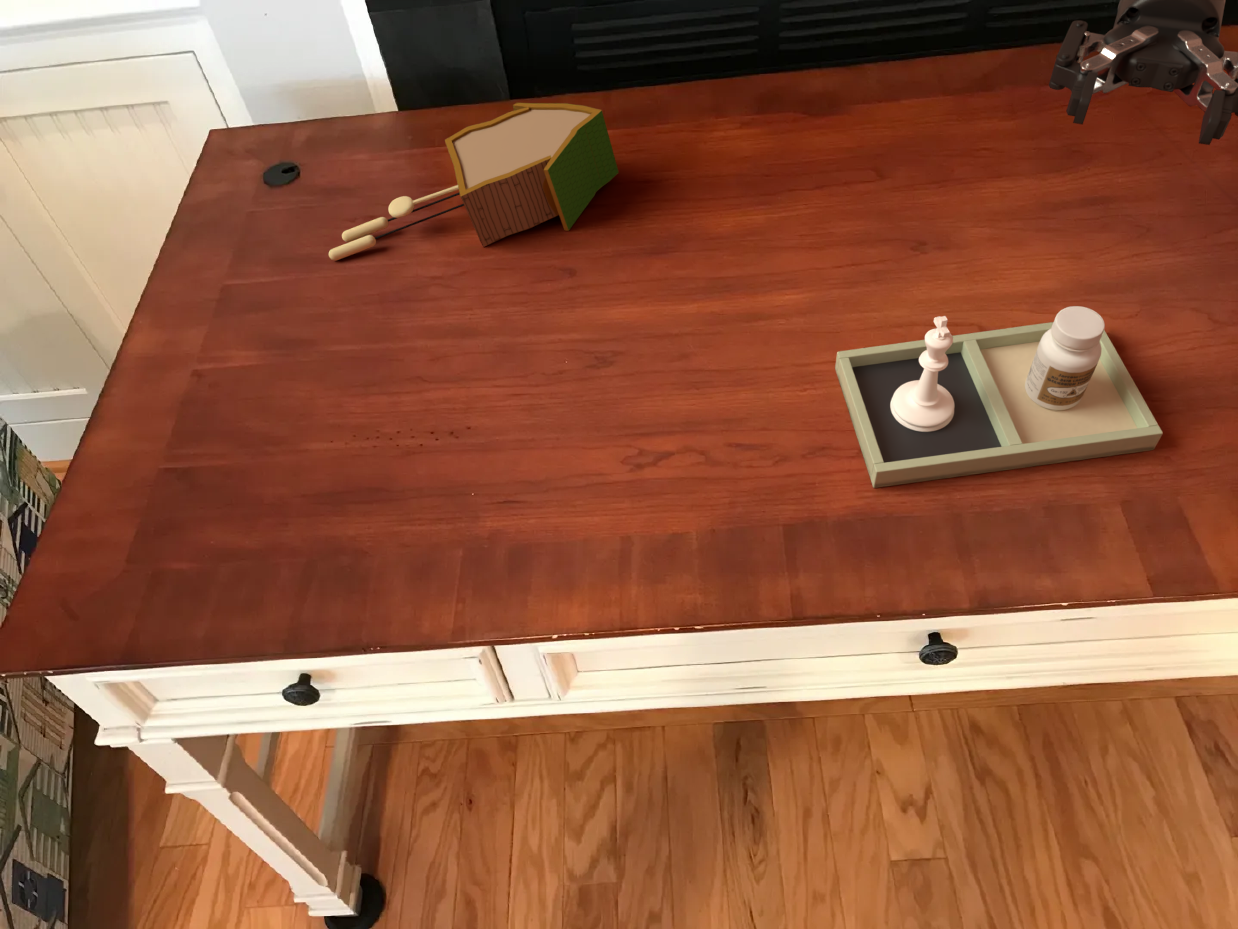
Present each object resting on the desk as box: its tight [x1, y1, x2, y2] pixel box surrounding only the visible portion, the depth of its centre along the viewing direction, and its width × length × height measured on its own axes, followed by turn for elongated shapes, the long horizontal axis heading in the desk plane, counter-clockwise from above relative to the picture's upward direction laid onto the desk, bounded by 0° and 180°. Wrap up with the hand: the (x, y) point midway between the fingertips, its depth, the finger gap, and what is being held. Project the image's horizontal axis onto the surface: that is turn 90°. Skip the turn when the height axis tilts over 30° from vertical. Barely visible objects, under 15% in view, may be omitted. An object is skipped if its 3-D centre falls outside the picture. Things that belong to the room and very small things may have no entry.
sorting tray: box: [834, 321, 1164, 489], centre depth 78 cm, size 22×13×2 cm, turn 95°
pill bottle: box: [1025, 305, 1106, 410], centre depth 75 cm, size 4×4×8 cm
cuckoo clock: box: [328, 102, 620, 262], centre depth 97 cm, size 12×8×30 cm
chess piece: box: [890, 315, 954, 432], centre depth 74 cm, size 5×5×10 cm
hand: (1144, 123), depth 70 cm, fingers open, 8 cm apart
